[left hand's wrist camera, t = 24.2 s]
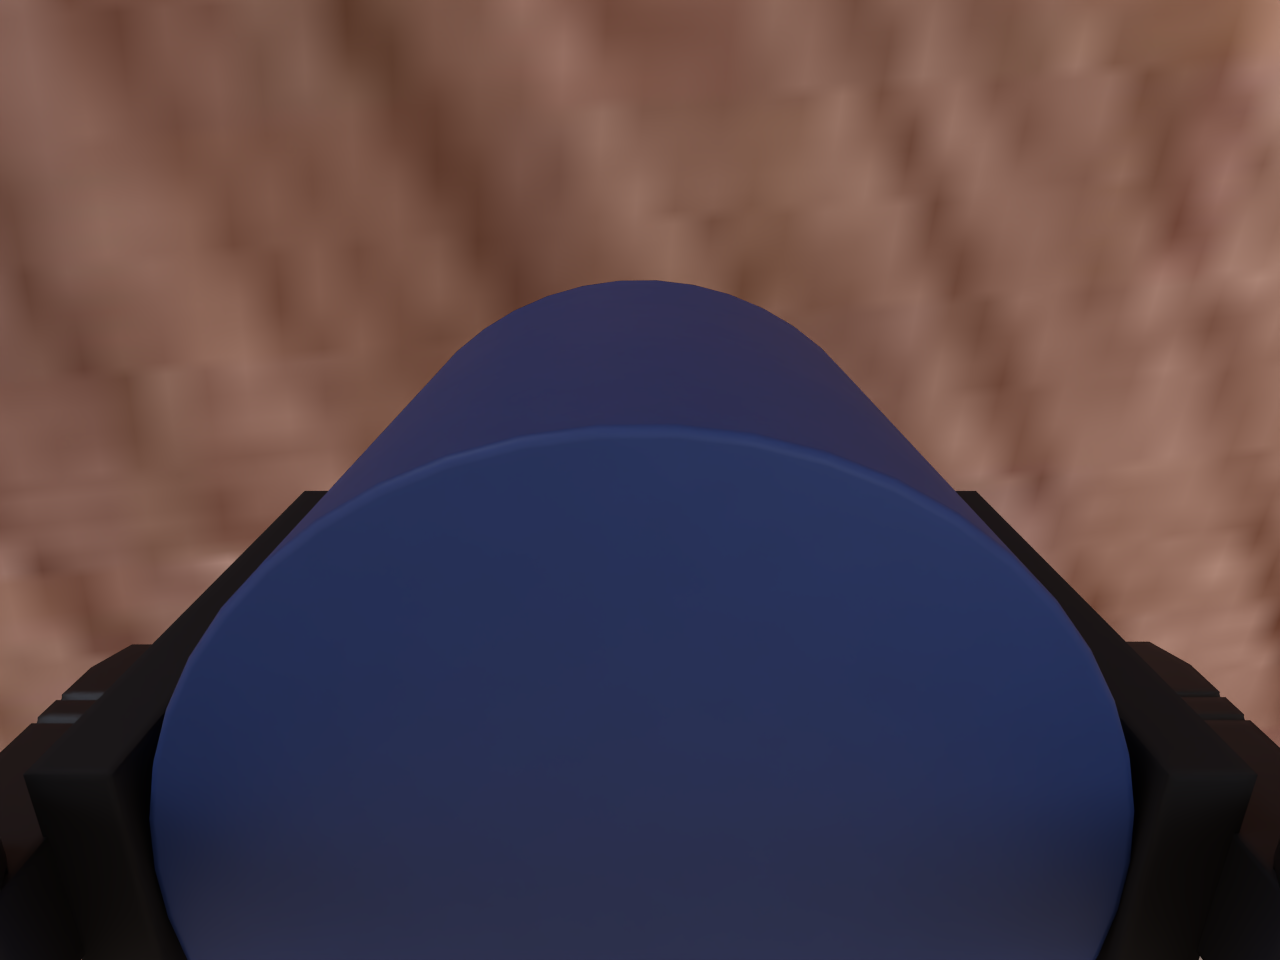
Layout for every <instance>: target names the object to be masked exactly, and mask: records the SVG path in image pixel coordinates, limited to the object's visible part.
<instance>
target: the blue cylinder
mask: <svg viewBox="0 0 1280 960" xmlns="http://www.w3.org/2000/svg"><path fill="white" fill-rule="evenodd" d="M149 820H150V830H151V839H152V849H153V858H154V867H155V872H156V876H157V879H158V883H159V886H160V890H161V894H162V897H163V901H164V904H165V908H166V912H167V915H168V918H169V920H170V922H171V925H172V927H173V929H174V931H175V933H176V936H177V938H178V940H179V942H180V945H181V947H182V949H183V951H184V953H185V956H186V958H187V960H1096V958H1097V957H1098V955H1099V953H1100V950H1101V948H1102V946H1103V943H1104V941H1105V939H1106V936H1107V934H1108V932H1109V929H1110V927H1111V925H1112V922H1113V920H1114V918H1115V915H1116V913H1117V911H1118V907H1119V903H1120V899H1121V895H1122V891H1123V888H1124V884H1125V880H1126V876H1127V872H1128V868H1129V864H1130V857H1131V845H1132V833H1133V821H1134V801H1133V790H1132V779H1131V768H1130V758H1129V752H1128V748H1127V744H1126V741H1125V737H1124V733H1123V730H1122V726H1121V722H1120V718H1119V715H1118V711H1117V707H1116V704H1115V700H1114V698H1113V696H1112V694H1111V692H1110V690H1109V687H1108V685H1107V683H1106V681H1105V679H1104V677H1103V674H1102V672H1101V670H1100V668H1099V666H1098V664H1097V662H1096V659H1095V657H1094V655H1093V653H1092V651H1091V649H1090V647H1089V646H1088V645H1087V643H1086V642H1085V640H1084V639H1083V637H1082V636H1081V634H1080V633H1079V631H1078V630H1077V629H1076V627H1075V626H1074V624H1073V623H1072V621H1071V620H1070V618H1069V617H1068V616H1067V614H1066V613H1065V611H1064V610H1063V608H1062V607H1061V605H1060V604H1059V602H1058V601H1057V600H1056V599H1055V598H1054V596H1053V595H1052V594H1051V593H1050V592H1049V591H1048V590H1047V589H1046V588H1045V587H1044V586H1043V585H1042V584H1041V583H1040V581H1039V580H1038V579H1037V578H1036V577H1035V576H1034V575H1033V574H1032V573H1031V572H1030V571H1029V570H1028V569H1027V568H1026V566H1025V565H1024V564H1023V563H1022V562H1021V561H1020V560H1019V559H1018V558H1017V557H1016V556H1015V555H1014V554H1013V553H1012V551H1011V550H1010V549H1009V548H1008V547H1007V546H1006V545H1005V544H1004V543H1003V542H1002V541H1001V540H1000V539H999V538H998V536H997V535H996V534H995V533H994V532H993V531H992V530H991V529H990V528H989V527H988V526H987V525H986V524H985V523H984V521H983V520H982V519H981V518H980V517H979V516H978V515H977V514H976V513H975V512H974V511H973V510H972V509H971V508H970V506H969V505H968V504H967V503H966V502H965V501H964V500H963V499H962V498H961V497H960V496H959V495H958V494H957V493H956V491H955V490H954V489H953V488H952V487H951V486H950V485H949V484H948V483H947V482H946V481H945V480H944V479H943V478H942V477H941V475H940V474H939V473H938V472H937V471H936V470H935V469H934V468H933V467H932V466H931V465H930V464H929V463H928V462H927V460H926V459H925V458H924V457H923V456H922V455H921V454H920V453H919V452H918V451H917V450H916V449H915V448H914V447H913V445H912V444H911V443H910V442H909V441H908V440H907V439H906V438H905V437H904V436H903V435H902V434H901V433H900V432H899V430H898V429H897V428H896V427H895V426H894V425H893V424H892V423H891V422H890V421H889V420H888V419H887V418H886V417H885V415H884V414H883V413H882V412H881V411H880V410H879V409H878V408H877V407H876V406H875V405H874V404H873V403H872V402H871V400H870V399H869V398H868V397H867V396H866V395H865V394H864V393H863V392H862V391H861V390H860V389H859V388H858V387H857V385H856V384H855V383H854V382H853V381H852V380H851V379H850V378H849V377H848V376H847V375H846V374H845V373H844V372H843V371H842V369H841V368H840V367H839V366H838V365H837V364H836V363H835V362H834V361H833V360H832V359H831V358H830V357H829V356H828V355H827V354H826V353H825V352H824V351H823V350H822V349H821V348H820V347H819V346H818V345H817V344H815V343H814V342H813V341H812V340H810V339H809V338H808V337H806V336H805V335H804V334H803V333H801V332H800V331H799V330H798V329H796V328H795V327H794V326H792V325H790V324H789V323H787V322H785V321H784V320H782V319H780V318H778V317H777V316H775V315H773V314H772V313H770V312H768V311H767V310H765V309H763V308H761V307H758V306H756V305H754V304H751V303H749V302H746V301H744V300H742V299H739V298H737V297H734V296H732V295H729V294H726V293H722V292H718V291H714V290H711V289H707V288H703V287H699V286H695V285H690V284H682V283H673V282H665V281H657V280H649V281H615V282H608V283H601V284H594V285H587V286H581V287H578V288H574V289H571V290H567V291H564V292H560V293H557V294H553V295H550V296H547V297H544V298H542V299H540V300H538V301H535V302H533V303H531V304H528V305H526V306H524V307H522V308H519V309H517V310H515V311H513V312H511V313H510V314H508V315H506V316H505V317H503V318H502V319H500V320H498V321H497V322H495V323H493V324H492V325H490V326H488V327H487V328H485V329H484V330H482V331H481V332H480V333H479V334H478V335H476V336H475V337H474V338H473V339H472V340H470V341H469V342H468V343H467V344H465V345H464V346H463V347H462V348H461V349H459V350H458V351H457V352H456V353H455V354H454V355H453V356H452V357H451V358H450V360H449V361H448V362H447V363H446V364H445V365H444V366H443V367H442V368H441V369H440V370H439V372H438V373H437V374H436V375H435V376H434V377H433V378H432V379H431V380H430V381H429V382H428V383H427V385H426V386H425V387H424V388H423V389H422V390H421V391H420V392H419V393H418V394H417V395H416V396H415V398H414V399H413V400H412V401H411V402H410V403H409V404H408V405H407V406H406V407H405V408H404V409H403V411H402V412H401V413H400V414H399V415H398V416H397V417H396V418H395V419H394V420H393V421H392V423H391V424H390V425H389V426H388V427H387V428H386V429H385V430H384V431H383V432H382V433H381V434H380V436H379V437H378V438H377V439H376V440H375V441H374V442H373V443H372V444H371V445H370V446H369V447H368V449H367V450H366V451H365V452H364V453H363V454H362V455H361V456H360V457H359V458H358V459H357V460H356V462H355V463H354V464H353V465H352V466H351V467H350V468H349V469H348V470H347V471H346V472H345V474H344V475H343V476H342V477H341V478H340V479H339V480H338V481H337V482H336V483H335V484H334V485H333V487H332V488H331V489H330V490H329V491H328V492H327V493H326V494H325V495H324V496H323V497H322V498H321V500H320V501H319V502H318V503H317V504H316V505H315V506H314V507H313V508H312V509H311V510H310V511H309V513H308V514H307V515H306V516H305V517H304V518H303V519H302V520H301V521H300V522H299V523H298V525H297V526H296V527H295V528H294V529H293V530H292V531H291V532H290V533H289V534H288V535H287V536H286V538H285V539H284V540H283V541H282V542H281V543H280V544H279V545H278V546H277V547H276V548H275V549H274V551H273V552H272V553H271V554H270V555H269V556H268V557H267V558H266V559H265V560H264V561H263V563H262V564H261V565H260V566H259V567H258V568H257V569H256V570H255V571H254V572H253V573H252V575H251V576H250V577H249V578H248V579H247V580H246V581H245V582H244V583H243V584H242V585H241V587H240V588H239V589H238V590H237V591H236V592H235V593H234V594H233V595H232V596H231V597H230V599H229V600H228V601H227V602H226V603H225V604H224V605H223V606H222V607H221V609H220V610H219V612H218V613H217V615H216V616H215V618H214V620H213V621H212V623H211V624H210V626H209V627H208V629H207V630H206V632H205V633H204V635H203V636H202V638H201V639H200V641H199V642H198V644H197V646H196V647H195V649H194V650H193V652H192V653H191V655H190V656H189V658H188V660H187V663H186V665H185V667H184V669H183V672H182V674H181V676H180V679H179V681H178V683H177V685H176V688H175V690H174V692H173V695H172V697H171V699H170V702H169V704H168V706H167V708H166V712H165V716H164V720H163V724H162V728H161V733H160V737H159V741H158V745H157V749H156V753H155V757H154V761H153V770H152V785H151V801H150V816H149Z"/></svg>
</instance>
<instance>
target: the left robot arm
mask: <svg viewBox="0 0 1280 960" xmlns="http://www.w3.org/2000/svg"><path fill="white" fill-rule="evenodd" d="M327 492H328V491H304V492H303V493H302V494H301V495H300V496H299V497H298V498H297V499H296V500H295V501H294V502H293V503H292V504H291V505H290V506H289V507H288V508H287V509H286V510H285V511H284V512H283V513H282V514H281V515H280V516H279V517H278V518H277V519H276V520H275V521H274V522H273V523H272V524H271V525H270V526H269V527H268V528H267V529H266V530H265V531H264V532H263V533H262V534H261V535H260V536H259V537H258V538H257V539H256V541H255V542H254V543H253V544H252V545H251V546H250V547H249V548H248V549H247V550H246V551H245V552H244V553H243V554H242V555H241V556H240V557H239V558H238V559H237V560H236V561H235V562H234V563H233V564H232V565H231V566H230V567H229V568H228V569H227V570H226V571H225V572H224V573H223V574H222V575H221V576H220V577H219V578H218V579H217V580H216V581H215V582H214V583H213V584H212V585H211V586H210V587H209V588H208V589H207V590H206V591H205V592H204V593H203V594H202V595H201V596H200V597H199V598H198V599H197V600H196V601H195V602H194V603H193V604H192V605H191V606H190V607H189V608H188V609H187V610H186V611H185V612H184V613H183V614H182V615H181V616H180V617H179V618H178V619H177V620H176V621H175V622H174V623H173V624H172V625H171V626H170V627H169V628H168V629H167V630H166V631H165V632H164V633H163V634H162V635H161V636H160V637H159V638H158V639H157V640H156V641H155V642H154V643H153V644H152V645H130V646H129V647H127V648H125V649H123V650H121V651H120V652H118V653H116V654H114V655H113V656H111V657H109V658H107V659H105V660H104V661H102V662H100V663H98V664H97V665H95V666H93V667H91V668H90V669H89V670H88V671H87V672H86V673H85V674H84V675H83V676H82V677H80V678H79V679H78V680H77V681H76V682H75V683H74V684H73V685H72V686H71V687H70V688H69V689H68V690H67V691H66V692H64V693H63V694H62V699H61V700H56V701H55V702H54V703H53V704H52V705H51V706H49V707H48V708H47V709H46V710H45V711H44V712H43V713H42V714H41V715H40V716H39V717H38V721H37V723H31V724H30V725H29V726H28V727H27V728H26V729H25V730H24V731H23V732H22V733H21V734H20V735H19V736H17V737H16V738H15V739H14V740H13V741H12V742H11V743H10V744H9V745H8V746H7V747H6V748H5V749H4V750H2V751H1V752H0V960H81V959H82V960H187V958H186V956H185V953H184V951H183V949H182V947H181V945H180V942H179V940H178V938H177V936H176V933H175V931H174V929H173V927H172V925H171V922H170V920H169V918H168V915H167V912H166V908H165V904H164V901H163V897H162V894H161V890H160V886H159V883H158V879H157V876H156V872H155V867H154V858H153V849H152V839H151V830H150V820H149V816H150V801H151V785H152V770H153V761H154V757H155V753H156V749H157V745H158V741H159V737H160V733H161V728H162V724H163V720H164V716H165V712H166V708H167V706H168V704H169V702H170V699H171V697H172V695H173V692H174V690H175V688H176V685H177V683H178V681H179V679H180V676H181V674H182V672H183V669H184V667H185V665H186V663H187V660H188V658H189V656H190V655H191V653H192V652H193V650H194V649H195V647H196V646H197V644H198V642H199V641H200V639H201V638H202V636H203V635H204V633H205V632H206V630H207V629H208V627H209V626H210V624H211V623H212V621H213V620H214V618H215V616H216V615H217V613H218V612H219V610H220V609H221V607H222V606H223V605H224V604H225V603H226V602H227V601H228V600H229V599H230V597H231V596H232V595H233V594H234V593H235V592H236V591H237V590H238V589H239V588H240V587H241V585H242V584H243V583H244V582H245V581H246V580H247V579H248V578H249V577H250V576H251V575H252V573H253V572H254V571H255V570H256V569H257V568H258V567H259V566H260V565H261V564H262V563H263V561H264V560H265V559H266V558H267V557H268V556H269V555H270V554H271V553H272V552H273V551H274V549H275V548H276V547H277V546H278V545H279V544H280V543H281V542H282V541H283V540H284V539H285V538H286V536H287V535H288V534H289V533H290V532H291V531H292V530H293V529H294V528H295V527H296V526H297V525H298V523H299V522H300V521H301V520H302V519H303V518H304V517H305V516H306V515H307V514H308V513H309V511H310V510H311V509H312V508H313V507H314V506H315V505H316V504H317V503H318V502H319V501H320V500H321V498H322V497H323V496H324V495H325V494H326V493H327ZM956 493H957V494H958V495H959V496H960V497H961V498H962V499H963V500H964V501H965V502H966V503H967V504H968V505H969V506H970V508H971V509H972V510H973V511H974V512H975V513H976V514H977V515H978V516H979V517H980V518H981V519H982V520H983V521H984V523H985V524H986V525H987V526H988V527H989V528H990V529H991V530H992V531H993V532H994V533H995V534H996V535H997V536H998V538H999V539H1000V540H1001V541H1002V542H1003V543H1004V544H1005V545H1006V546H1007V547H1008V548H1009V549H1010V550H1011V551H1012V553H1013V554H1014V555H1015V556H1016V557H1017V558H1018V559H1019V560H1020V561H1021V562H1022V563H1023V564H1024V565H1025V566H1026V568H1027V569H1028V570H1029V571H1030V572H1031V573H1032V574H1033V575H1034V576H1035V577H1036V578H1037V579H1038V580H1039V581H1040V583H1041V584H1042V585H1043V586H1044V587H1045V588H1046V589H1047V590H1048V591H1049V592H1050V593H1051V594H1052V595H1053V596H1054V598H1055V599H1056V600H1057V601H1058V602H1059V604H1060V605H1061V607H1062V608H1063V610H1064V611H1065V613H1066V614H1067V616H1068V617H1069V618H1070V620H1071V621H1072V623H1073V624H1074V626H1075V627H1076V629H1077V630H1078V631H1079V633H1080V634H1081V636H1082V637H1083V639H1084V640H1085V642H1086V643H1087V645H1088V646H1089V647H1090V649H1091V651H1092V653H1093V655H1094V657H1095V659H1096V662H1097V664H1098V666H1099V668H1100V670H1101V672H1102V674H1103V677H1104V679H1105V681H1106V683H1107V685H1108V687H1109V690H1110V692H1111V694H1112V696H1113V698H1114V700H1115V704H1116V707H1117V711H1118V715H1119V718H1120V722H1121V726H1122V730H1123V733H1124V737H1125V741H1126V744H1127V748H1128V752H1129V758H1130V768H1131V779H1132V790H1133V801H1134V821H1133V833H1132V845H1131V857H1130V864H1129V868H1128V872H1127V876H1126V880H1125V884H1124V888H1123V891H1122V895H1121V899H1120V903H1119V907H1118V911H1117V913H1116V915H1115V918H1114V920H1113V922H1112V925H1111V927H1110V929H1109V932H1108V934H1107V936H1106V939H1105V941H1104V943H1103V946H1102V948H1101V950H1100V953H1099V955H1098V957H1097V958H1096V960H1199V957H1201V958H1202V959H1203V960H1280V748H1279V747H1278V746H1277V745H1276V744H1275V743H1274V742H1273V741H1272V740H1271V739H1270V738H1269V737H1268V736H1267V735H1265V734H1264V733H1263V732H1262V731H1261V730H1260V729H1259V728H1258V727H1257V726H1256V725H1255V724H1254V723H1253V722H1251V721H1250V720H1245V719H1244V714H1243V713H1242V712H1241V711H1240V710H1239V709H1237V708H1236V707H1235V706H1234V705H1233V704H1232V703H1231V702H1230V701H1229V700H1228V699H1227V698H1226V697H1220V694H1219V693H1220V692H1219V691H1218V690H1217V689H1216V688H1215V687H1214V686H1213V685H1212V684H1211V683H1210V682H1208V681H1207V680H1206V679H1205V678H1204V677H1203V676H1202V675H1201V674H1200V673H1199V672H1198V671H1197V670H1196V669H1194V668H1193V667H1192V666H1191V665H1190V664H1188V663H1186V662H1185V661H1183V660H1181V659H1179V658H1177V657H1176V656H1174V655H1172V654H1170V653H1168V652H1167V651H1165V650H1163V649H1161V648H1159V647H1158V646H1156V645H1154V644H1152V643H1151V642H1125V641H1124V640H1123V639H1122V638H1121V637H1120V636H1119V635H1118V634H1117V633H1116V632H1115V630H1114V629H1113V628H1112V627H1111V626H1110V625H1109V624H1108V623H1107V622H1106V621H1105V620H1104V619H1103V618H1102V617H1101V616H1100V615H1099V614H1098V613H1097V612H1096V611H1095V610H1094V609H1093V608H1092V607H1091V606H1090V605H1089V604H1088V603H1087V602H1086V601H1085V600H1084V599H1083V598H1082V597H1081V596H1080V595H1079V594H1078V593H1077V592H1076V591H1075V590H1074V589H1073V588H1072V587H1071V586H1070V585H1069V584H1068V583H1067V582H1066V581H1065V580H1064V579H1063V578H1062V577H1061V576H1060V575H1059V574H1058V573H1057V572H1056V571H1055V570H1054V569H1053V568H1052V567H1051V566H1050V565H1049V564H1048V563H1047V562H1046V561H1045V560H1044V559H1043V558H1042V557H1041V556H1040V555H1039V554H1038V553H1037V552H1036V551H1035V550H1034V549H1033V548H1032V547H1031V546H1030V545H1029V544H1028V543H1027V542H1026V541H1025V540H1024V539H1023V538H1022V537H1021V536H1020V535H1019V534H1018V533H1017V532H1016V531H1015V530H1014V529H1013V528H1012V527H1011V526H1010V525H1009V524H1008V523H1007V522H1006V521H1005V520H1004V519H1003V518H1002V517H1001V516H1000V515H999V514H998V513H997V512H996V511H995V510H994V509H993V508H992V507H991V506H990V505H989V504H988V503H987V502H986V501H985V500H984V499H983V498H982V497H981V496H980V495H979V494H978V493H977V492H976V491H956Z"/></svg>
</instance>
